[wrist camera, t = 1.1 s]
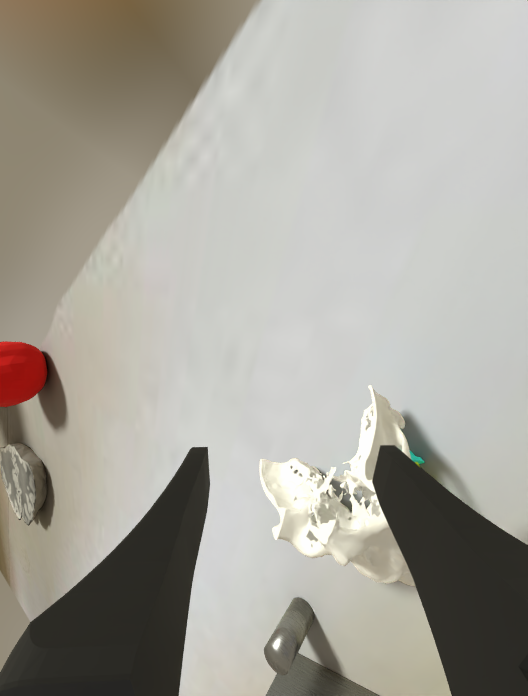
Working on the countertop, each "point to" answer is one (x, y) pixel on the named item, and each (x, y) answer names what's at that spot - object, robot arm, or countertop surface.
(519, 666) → the robot arm
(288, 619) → the housing bracket
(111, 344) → the countertop surface
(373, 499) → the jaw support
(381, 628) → the countertop surface
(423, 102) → the countertop surface
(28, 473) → the brain slice
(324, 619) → the countertop surface
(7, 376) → the tomato
